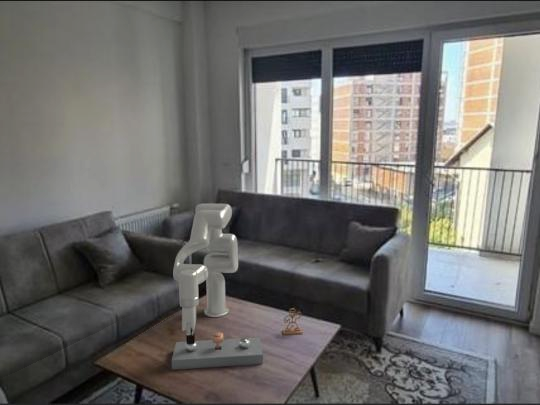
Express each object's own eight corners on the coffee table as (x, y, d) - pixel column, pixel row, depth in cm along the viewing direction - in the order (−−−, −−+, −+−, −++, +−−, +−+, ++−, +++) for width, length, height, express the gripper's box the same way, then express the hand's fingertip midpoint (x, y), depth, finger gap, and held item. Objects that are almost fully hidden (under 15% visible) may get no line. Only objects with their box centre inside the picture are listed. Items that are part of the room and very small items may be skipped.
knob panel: (176, 350, 169) (176, 342, 168) (260, 345, 172) (260, 337, 172) (172, 369, 155) (171, 360, 154) (262, 363, 159) (262, 354, 158)
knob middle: (212, 345, 165) (212, 331, 164) (223, 344, 165) (223, 331, 164) (212, 350, 160) (212, 337, 160) (223, 350, 161) (223, 336, 160)
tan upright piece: (283, 335, 181) (283, 310, 179) (282, 331, 185) (282, 307, 183) (302, 334, 182) (302, 309, 180) (301, 330, 186) (301, 306, 184)
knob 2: (239, 350, 166) (239, 337, 165) (249, 349, 167) (249, 336, 166) (239, 356, 162) (239, 342, 161) (250, 355, 163) (250, 341, 162)
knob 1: (186, 353, 164) (186, 340, 163) (197, 352, 165) (196, 339, 164) (185, 359, 160) (184, 345, 159) (196, 358, 160) (195, 345, 159)
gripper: (181, 293, 165) (183, 334, 168) (177, 308, 150) (179, 353, 153) (199, 293, 166) (201, 333, 169) (197, 307, 151) (198, 352, 154)
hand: (190, 342), depth 161 cm, fingers closed
